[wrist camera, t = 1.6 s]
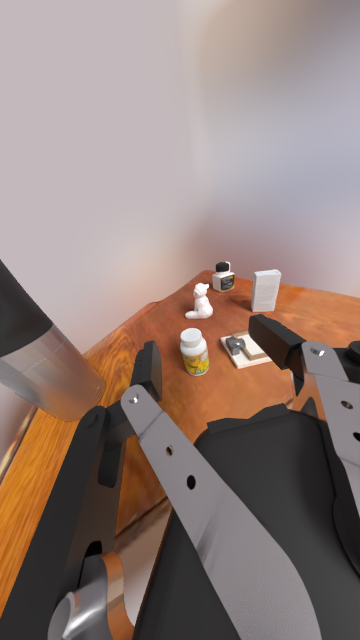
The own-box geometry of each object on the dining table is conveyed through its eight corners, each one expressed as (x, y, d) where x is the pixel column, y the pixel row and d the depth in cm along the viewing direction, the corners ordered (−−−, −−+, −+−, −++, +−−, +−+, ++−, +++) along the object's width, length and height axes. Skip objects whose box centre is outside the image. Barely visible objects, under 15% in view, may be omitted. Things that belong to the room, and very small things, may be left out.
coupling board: (237, 368, 27) (238, 363, 26) (220, 340, 35) (220, 335, 34) (297, 354, 27) (300, 348, 26) (267, 329, 35) (268, 324, 34)
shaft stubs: (232, 355, 29) (232, 348, 28) (225, 344, 32) (225, 337, 31) (288, 342, 29) (290, 334, 28) (275, 332, 32) (277, 325, 31)
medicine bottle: (220, 292, 60) (220, 265, 54) (212, 288, 66) (211, 263, 60) (234, 288, 61) (234, 261, 55) (225, 284, 67) (224, 260, 61)
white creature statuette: (200, 306, 53) (196, 277, 46) (219, 311, 47) (218, 278, 41) (184, 318, 48) (178, 287, 41) (204, 325, 42) (200, 290, 36)
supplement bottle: (213, 362, 30) (210, 329, 25) (201, 381, 26) (195, 348, 21) (193, 354, 33) (187, 323, 28) (181, 370, 30) (171, 339, 25)
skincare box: (270, 305, 44) (277, 269, 38) (273, 311, 41) (282, 273, 34) (250, 306, 46) (253, 271, 40) (251, 312, 43) (256, 275, 36)
